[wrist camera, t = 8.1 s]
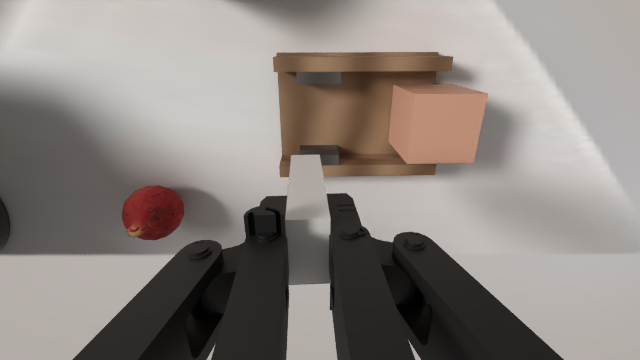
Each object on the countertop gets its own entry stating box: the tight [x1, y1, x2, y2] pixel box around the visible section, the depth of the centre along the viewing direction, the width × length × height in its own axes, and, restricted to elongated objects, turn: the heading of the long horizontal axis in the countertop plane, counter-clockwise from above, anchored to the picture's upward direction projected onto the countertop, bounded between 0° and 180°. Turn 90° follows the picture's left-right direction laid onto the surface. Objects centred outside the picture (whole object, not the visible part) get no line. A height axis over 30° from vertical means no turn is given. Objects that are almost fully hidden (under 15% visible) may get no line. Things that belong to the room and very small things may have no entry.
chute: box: [273, 52, 453, 177], centre depth 31 cm, size 16×12×4 cm
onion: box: [122, 186, 184, 240], centre depth 33 cm, size 6×6×8 cm
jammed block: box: [388, 84, 488, 164], centre depth 29 cm, size 6×6×7 cm
